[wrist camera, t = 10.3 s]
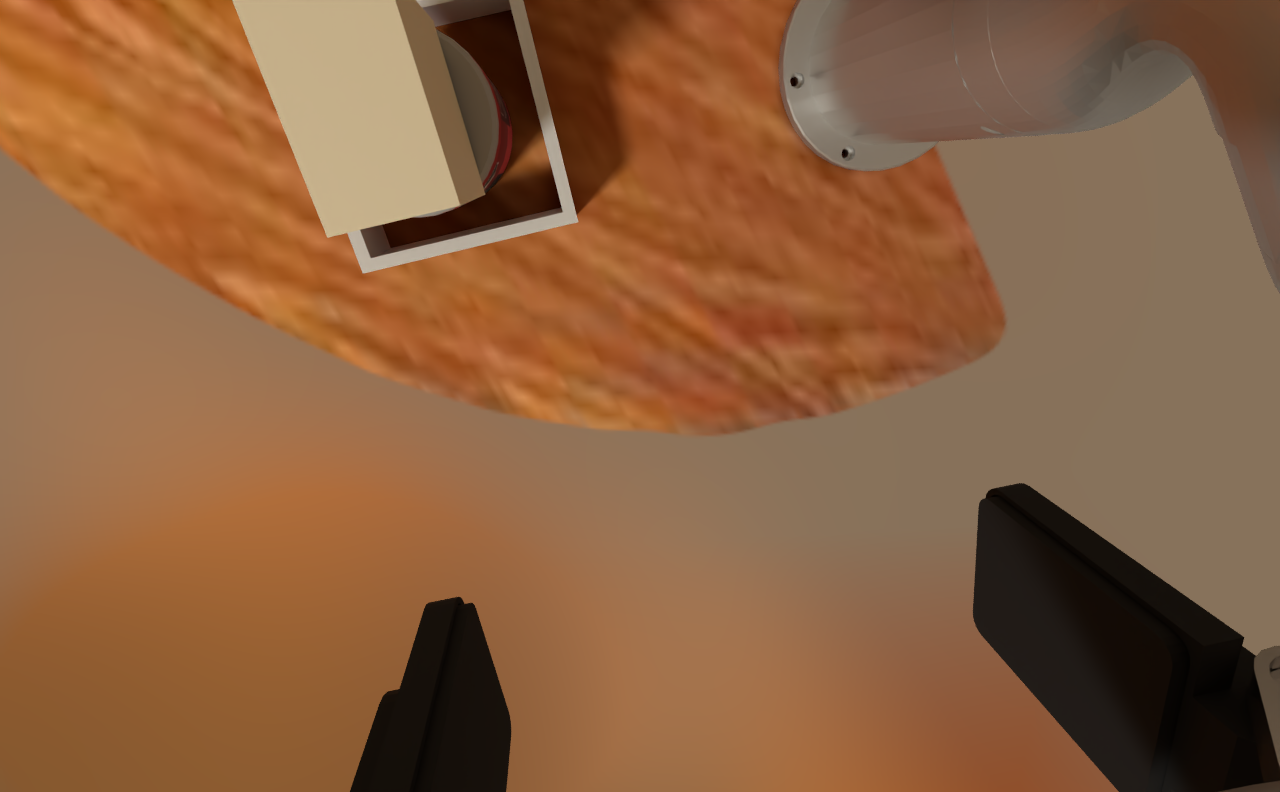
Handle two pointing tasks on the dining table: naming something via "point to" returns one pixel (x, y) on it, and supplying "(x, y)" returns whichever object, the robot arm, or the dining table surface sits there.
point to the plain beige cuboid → (364, 107)
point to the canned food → (479, 114)
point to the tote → (372, 249)
